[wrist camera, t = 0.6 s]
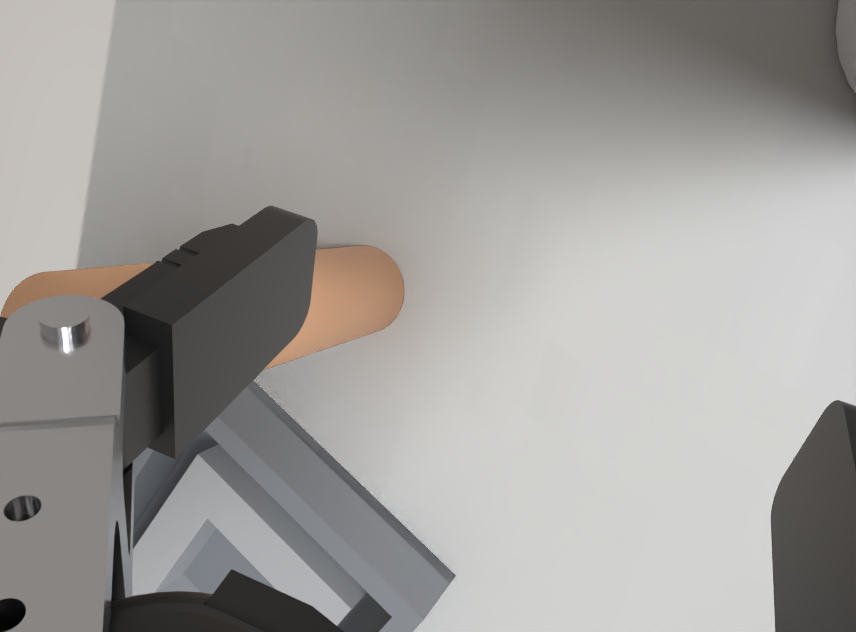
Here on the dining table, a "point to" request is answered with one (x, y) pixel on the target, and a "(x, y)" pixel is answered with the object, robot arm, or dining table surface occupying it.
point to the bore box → (277, 524)
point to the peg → (329, 308)
